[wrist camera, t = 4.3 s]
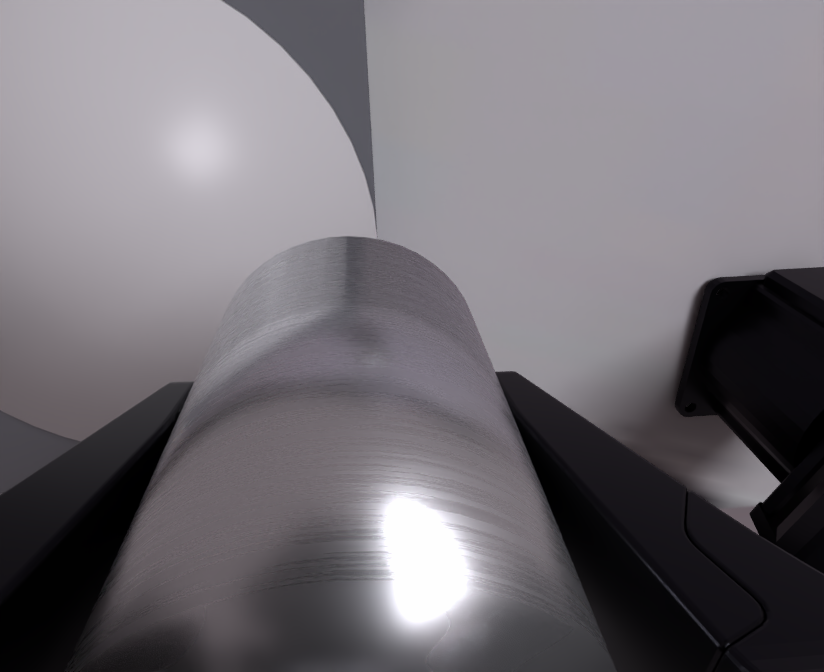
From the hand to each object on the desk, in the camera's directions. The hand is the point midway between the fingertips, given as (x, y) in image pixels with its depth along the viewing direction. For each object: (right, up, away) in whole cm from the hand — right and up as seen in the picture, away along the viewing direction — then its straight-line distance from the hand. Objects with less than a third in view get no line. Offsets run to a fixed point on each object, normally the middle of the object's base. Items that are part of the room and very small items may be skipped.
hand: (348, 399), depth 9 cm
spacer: (0, +1, +1) cm, 1 cm away
